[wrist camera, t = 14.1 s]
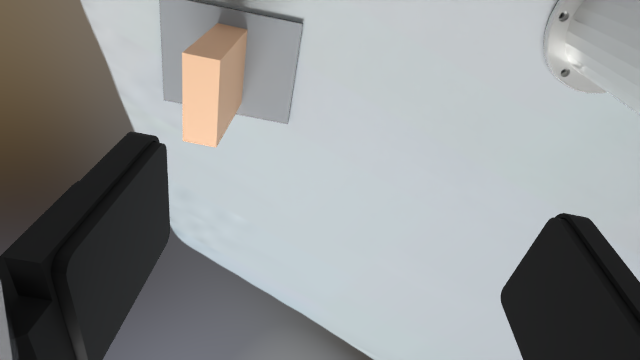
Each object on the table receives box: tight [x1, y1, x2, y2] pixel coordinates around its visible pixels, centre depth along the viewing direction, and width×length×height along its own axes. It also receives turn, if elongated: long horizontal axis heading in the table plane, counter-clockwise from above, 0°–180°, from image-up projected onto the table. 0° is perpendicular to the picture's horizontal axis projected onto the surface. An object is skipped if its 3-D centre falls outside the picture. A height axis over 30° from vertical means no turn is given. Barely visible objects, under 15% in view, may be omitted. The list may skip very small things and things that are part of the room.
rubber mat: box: [159, 0, 303, 124], centre depth 42 cm, size 14×11×1 cm
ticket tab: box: [182, 23, 248, 147], centre depth 37 cm, size 3×8×10 cm, turn 169°
